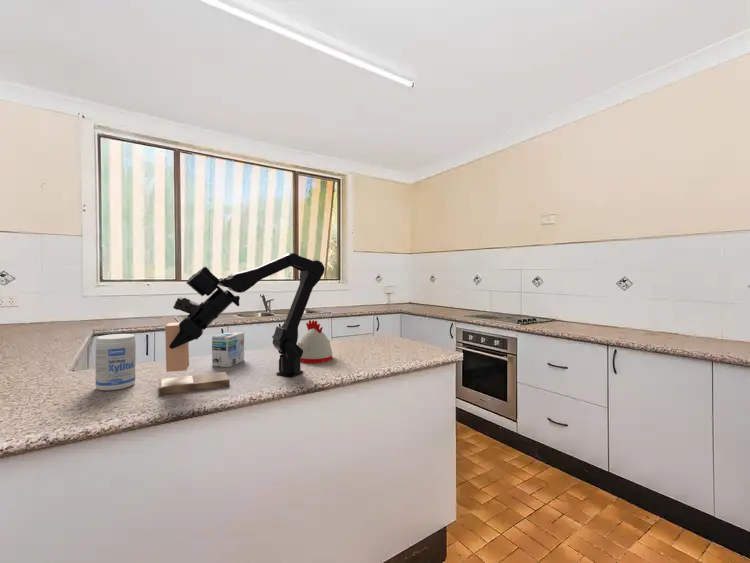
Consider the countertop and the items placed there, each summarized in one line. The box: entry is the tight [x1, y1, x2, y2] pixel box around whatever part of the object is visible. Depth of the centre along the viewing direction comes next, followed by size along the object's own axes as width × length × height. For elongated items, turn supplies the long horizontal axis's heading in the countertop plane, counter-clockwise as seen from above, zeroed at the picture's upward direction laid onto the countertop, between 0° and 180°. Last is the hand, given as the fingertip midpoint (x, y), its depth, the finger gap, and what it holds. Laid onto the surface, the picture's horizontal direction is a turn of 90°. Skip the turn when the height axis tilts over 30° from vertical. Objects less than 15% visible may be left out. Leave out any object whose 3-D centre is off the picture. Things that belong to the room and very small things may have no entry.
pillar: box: [164, 321, 190, 373], centre depth 106 cm, size 5×5×13 cm
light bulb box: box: [211, 331, 245, 368], centre depth 134 cm, size 11×7×11 cm, turn 168°
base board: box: [158, 371, 231, 396], centre depth 108 cm, size 18×9×2 cm, turn 119°
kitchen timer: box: [297, 319, 333, 364], centre depth 143 cm, size 14×14×15 cm
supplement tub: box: [95, 333, 137, 391], centre depth 107 cm, size 10×10×15 cm
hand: (172, 345), depth 105 cm, fingers closed on pillar, 5 cm apart
